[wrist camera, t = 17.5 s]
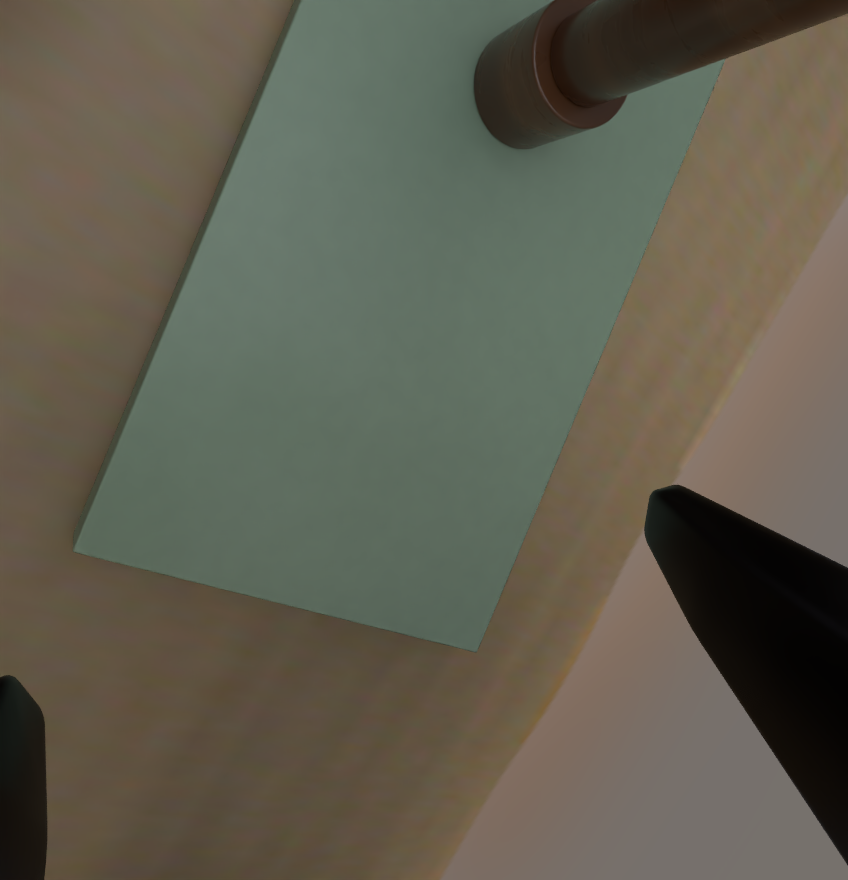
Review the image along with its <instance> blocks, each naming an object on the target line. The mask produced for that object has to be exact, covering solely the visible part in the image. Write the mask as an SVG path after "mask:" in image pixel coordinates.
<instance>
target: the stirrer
mask: <svg viewBox="0 0 848 880" xmlns="http://www.w3.org/2000/svg"><path fill="white" fill-rule="evenodd" d="M845 14H848V0H553V1H551V2H550V3H548V4H547V5H545V6H544V7H542V8H540V9H539V10H537V11H536V12H534V13H532V14H531V15H529V16H528V17H526V18H524V19H523V20H521V21H520V22H518V23H517V24H515V25H513V26H512V27H510V28H509V29H507V30H505V31H504V32H502V33H501V34H499V35H497V36H496V37H494V38H493V39H492V40H491V41H490V42H489V43H488V44H487V46H486V47H485V48H484V50H483V52H482V53H481V55H480V58H479V60H478V63H477V66H476V70H475V76H474V95H475V101H476V105H477V108H478V111H479V114H480V116H481V118H482V121H483V122H484V124H485V125H486V127H487V128H488V130H489V131H490V132H491V133H492V134H493V135H494V136H495V137H496V138H497V139H498V140H499V141H501V142H502V143H504V144H506V145H508V146H510V147H513V148H517V149H532V148H535V147H538V146H541V145H544V144H547V143H550V142H554V141H557V140H560V139H563V138H566V137H569V136H572V135H575V134H578V133H581V132H584V131H587V130H590V129H593V128H596V127H599V126H601V125H603V124H605V123H607V122H608V121H609V120H611V119H612V118H613V117H614V116H615V115H616V114H617V112H618V111H619V110H620V109H621V107H622V105H623V104H624V102H625V100H626V98H627V95H628V94H631V93H633V92H636V91H639V90H641V89H644V88H647V87H650V86H652V85H655V84H658V83H660V82H663V81H666V80H669V79H671V78H674V77H677V76H679V75H682V74H685V73H688V72H690V71H693V70H696V69H698V68H701V67H704V66H707V65H709V64H712V63H715V62H717V61H720V60H723V59H726V58H728V57H731V56H734V55H736V54H739V53H742V52H745V51H747V50H750V49H753V48H755V47H758V46H761V45H764V44H766V43H769V42H772V41H774V40H777V39H780V38H783V37H785V36H788V35H791V34H793V33H796V32H799V31H802V30H804V29H807V28H810V27H812V26H815V25H818V24H821V23H823V22H826V21H829V20H831V19H834V18H837V17H840V16H842V15H845Z"/></svg>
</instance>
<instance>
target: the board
mask: <svg viewBox="0 0 848 880" xmlns="http://www.w3.org/2000/svg"><path fill="white" fill-rule="evenodd" d="M551 1H553V0H294V2H293V5H292V7H291V10H290V12H289V14H288V17H287V19H286V22H285V24H284V26H283V29H282V31H281V34H280V36H279V38H278V41H277V43H276V46H275V48H274V51H273V53H272V55H271V58H270V60H269V63H268V65H267V67H266V70H265V72H264V75H263V77H262V80H261V82H260V84H259V87H258V89H257V92H256V94H255V96H254V99H253V101H252V104H251V106H250V108H249V111H248V113H247V116H246V118H245V121H244V123H243V125H242V128H241V130H240V133H239V135H238V137H237V140H236V142H235V145H234V147H233V150H232V152H231V154H230V157H229V159H228V162H227V164H226V166H225V169H224V171H223V174H222V176H221V178H220V181H219V183H218V186H217V188H216V191H215V193H214V195H213V198H212V200H211V203H210V205H209V207H208V210H207V212H206V215H205V217H204V219H203V222H202V224H201V227H200V229H199V232H198V234H197V236H196V239H195V241H194V244H193V246H192V248H191V251H190V253H189V256H188V258H187V261H186V263H185V265H184V268H183V270H182V273H181V275H180V277H179V280H178V282H177V285H176V287H175V289H174V292H173V294H172V297H171V299H170V302H169V304H168V306H167V309H166V311H165V314H164V316H163V318H162V321H161V323H160V326H159V328H158V331H157V333H156V335H155V338H154V340H153V343H152V345H151V347H150V350H149V352H148V355H147V357H146V359H145V362H144V364H143V367H142V369H141V372H140V374H139V376H138V379H137V381H136V384H135V386H134V388H133V391H132V393H131V396H130V398H129V401H128V403H127V405H126V408H125V410H124V413H123V415H122V417H121V420H120V422H119V425H118V427H117V429H116V432H115V434H114V437H113V439H112V442H111V444H110V446H109V449H108V451H107V454H106V456H105V458H104V461H103V463H102V466H101V468H100V471H99V473H98V475H97V478H96V480H95V483H94V485H93V487H92V490H91V492H90V495H89V497H88V499H87V502H86V504H85V507H84V509H83V512H82V514H81V516H80V519H79V521H78V524H77V526H76V528H75V531H74V537H73V552H75V553H79V554H83V555H87V556H91V557H95V558H99V559H103V560H107V561H111V562H115V563H119V564H123V565H127V566H131V567H135V568H139V569H143V570H147V571H151V572H155V573H159V574H163V575H167V576H171V577H175V578H179V579H183V580H187V581H191V582H195V583H199V584H203V585H207V586H211V587H215V588H219V589H223V590H228V591H232V592H236V593H240V594H244V595H248V596H252V597H256V598H260V599H264V600H268V601H272V602H276V603H280V604H284V605H288V606H292V607H296V608H300V609H304V610H308V611H312V612H316V613H320V614H324V615H328V616H332V617H336V618H340V619H344V620H348V621H352V622H356V623H360V624H364V625H368V626H372V627H376V628H380V629H384V630H388V631H392V632H396V633H400V634H404V635H408V636H412V637H416V638H420V639H424V640H428V641H432V642H436V643H440V644H444V645H448V646H452V647H456V648H460V649H464V650H468V651H472V652H477V650H478V648H479V646H480V643H481V641H482V639H483V636H484V634H485V631H486V629H487V627H488V624H489V622H490V619H491V617H492V615H493V612H494V610H495V608H496V605H497V603H498V600H499V598H500V596H501V593H502V591H503V588H504V586H505V584H506V581H507V579H508V577H509V574H510V572H511V569H512V567H513V565H514V562H515V560H516V557H517V555H518V553H519V550H520V548H521V546H522V543H523V541H524V538H525V536H526V534H527V531H528V529H529V526H530V524H531V522H532V519H533V517H534V515H535V512H536V510H537V507H538V505H539V503H540V500H541V498H542V495H543V493H544V491H545V488H546V486H547V484H548V481H549V479H550V476H551V474H552V472H553V469H554V467H555V464H556V462H557V460H558V457H559V455H560V453H561V450H562V448H563V445H564V443H565V441H566V438H567V436H568V433H569V431H570V429H571V426H572V424H573V422H574V419H575V417H576V414H577V412H578V410H579V407H580V405H581V402H582V400H583V398H584V395H585V393H586V391H587V388H588V386H589V383H590V381H591V379H592V376H593V374H594V371H595V369H596V367H597V364H598V362H599V360H600V357H601V355H602V352H603V350H604V348H605V345H606V343H607V340H608V338H609V336H610V333H611V331H612V329H613V326H614V324H615V321H616V319H617V317H618V314H619V312H620V309H621V307H622V305H623V302H624V300H625V298H626V295H627V293H628V290H629V288H630V286H631V283H632V281H633V278H634V276H635V274H636V271H637V269H638V267H639V264H640V262H641V259H642V257H643V255H644V252H645V250H646V247H647V245H648V243H649V240H650V238H651V236H652V233H653V231H654V228H655V226H656V224H657V221H658V219H659V216H660V214H661V212H662V209H663V207H664V205H665V202H666V200H667V197H668V195H669V193H670V190H671V188H672V185H673V183H674V181H675V178H676V176H677V174H678V171H679V169H680V166H681V164H682V162H683V159H684V157H685V154H686V152H687V150H688V147H689V145H690V143H691V140H692V138H693V135H694V133H695V131H696V128H697V126H698V123H699V121H700V119H701V116H702V114H703V112H704V109H705V107H706V104H707V102H708V100H709V97H710V95H711V92H712V90H713V88H714V85H715V83H716V81H717V78H718V76H719V73H720V71H721V69H722V66H723V64H724V61H725V59H723V60H720V61H717V62H715V63H712V64H709V65H707V66H704V67H701V68H698V69H696V70H693V71H690V72H688V73H685V74H682V75H679V76H677V77H674V78H671V79H669V80H666V81H663V82H660V83H658V84H655V85H652V86H650V87H647V88H644V89H641V90H639V91H636V92H633V93H631V94H628V95H627V98H626V100H625V102H624V104H623V105H622V107H621V109H620V110H619V111H618V112H617V114H616V115H615V116H614V117H613V118H612V119H611V120H609V121H608V122H607V123H605V124H603V125H601V126H599V127H596V128H593V129H590V130H587V131H584V132H581V133H578V134H575V135H572V136H569V137H566V138H563V139H560V140H557V141H554V142H550V143H547V144H544V145H541V146H538V147H535V148H532V149H517V148H513V147H510V146H508V145H506V144H504V143H502V142H501V141H499V140H498V139H497V138H496V137H495V136H494V135H493V134H492V133H491V132H490V131H489V130H488V128H487V127H486V125H485V124H484V122H483V121H482V118H481V116H480V114H479V111H478V108H477V105H476V101H475V95H474V76H475V70H476V66H477V63H478V60H479V58H480V55H481V53H482V52H483V50H484V48H485V47H486V46H487V44H488V43H489V42H490V41H491V40H492V39H493V38H494V37H496V36H497V35H499V34H501V33H502V32H504V31H505V30H507V29H509V28H510V27H512V26H513V25H515V24H517V23H518V22H520V21H521V20H523V19H524V18H526V17H528V16H529V15H531V14H532V13H534V12H536V11H537V10H539V9H540V8H542V7H544V6H545V5H547V4H548V3H550V2H551Z"/></svg>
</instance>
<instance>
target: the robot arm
mask: <svg viewBox="0 0 848 880" xmlns="http://www.w3.org/2000/svg"><path fill="white" fill-rule="evenodd" d="M644 531H645V537H646V541H647V543H648V545H649V547H650V549H651V551H652V553H653V555H654V557H655V559H656V561H657V563H658V565H659V567H660V569H661V570H662V573H663V574H664V576H665V578H666V580H667V582H668V584H669V586H670V588H671V590H672V592H673V594H674V596H675V598H676V600H677V602H678V604H679V605H680V608H681V609H682V611H683V613H684V615H685V617H686V619H687V621H688V623H689V624H690V626H691V628H692V630H693V631H694V633H695V634H696V636H697V638H698V639H699V641H700V643H701V644H702V646H703V647H704V649H705V650H706V652H707V653H708V654H709V656H710V658H711V659H712V661H713V662H714V664H715V665H716V667H717V668H718V670H719V671H720V673H721V674H722V676H723V677H724V679H725V680H726V682H727V683H728V685H729V686H730V688H731V689H732V691H733V693H734V694H735V696H736V697H737V699H738V700H739V701H740V703H741V705H742V706H743V707H744V709H745V711H746V712H747V714H748V715H749V717H750V718H751V719H752V721H753V723H754V724H755V726H756V727H757V729H758V730H759V732H760V733H761V735H762V736H763V738H764V739H765V741H766V742H767V744H768V745H769V747H770V748H771V750H772V752H773V753H774V755H775V756H776V758H777V759H778V761H779V762H780V763H781V765H782V767H783V768H784V770H785V771H786V773H787V774H788V776H789V777H790V779H791V780H792V782H793V783H794V785H795V786H796V788H797V789H798V791H799V792H800V794H801V795H802V797H803V798H804V800H805V801H806V803H807V804H808V806H809V807H810V809H811V810H812V812H813V814H814V815H815V816H816V818H817V820H818V821H819V823H820V824H821V826H822V827H823V829H824V830H825V831H826V833H827V834H828V836H829V838H830V839H831V840H832V842H833V844H834V845H835V847H836V848H837V850H838V851H839V853H840V854H841V856H842V857H843V859H844V860H845V862H846V863H847V865H848V568H847V567H845V566H843V565H841V564H839V563H837V562H835V561H833V560H831V559H829V558H827V557H825V556H823V555H821V554H819V553H817V552H815V551H813V550H811V549H809V548H807V547H805V546H803V545H801V544H799V543H796V542H794V541H793V540H790V539H789V538H787V537H785V536H782V535H781V534H779V533H776V532H774V531H772V530H770V529H768V528H766V527H764V526H762V525H760V524H758V523H756V522H754V521H752V520H750V519H748V518H746V517H744V516H742V515H740V514H738V513H736V512H734V511H732V510H730V509H728V508H726V507H724V506H722V505H720V504H718V503H716V502H714V501H712V500H710V499H708V498H706V497H704V496H701V495H700V494H698V493H696V492H694V491H692V490H690V489H687V488H686V487H683V486H680V485H671V486H668V487H664V488H661V489H657V490H655V491H653V492H652V494H651V495H650V498H649V503H648V509H647V515H646V521H645V528H644ZM46 852H47V791H46V752H45V722H44V717H43V713H42V711H41V709H40V707H39V705H38V704H37V703H36V702H35V701H34V699H33V698H32V697H31V696H30V694H29V693H28V692H27V691H26V689H25V688H24V687H23V686H22V685H21V683H20V682H19V681H18V680H17V679H16V678H15V677H13V676H10V675H6V676H2V677H0V880H44V876H45V865H46Z"/></svg>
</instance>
